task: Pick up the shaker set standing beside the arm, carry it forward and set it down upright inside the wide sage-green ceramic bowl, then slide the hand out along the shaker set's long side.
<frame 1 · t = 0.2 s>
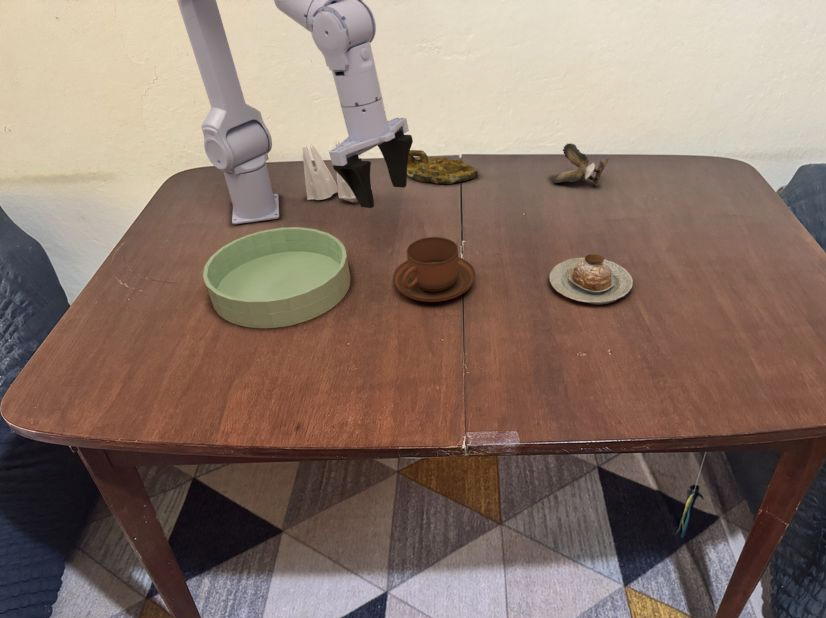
hand: (384, 196, 94), 11 cm above the table, tool pointing down, fingers open, 7 cm apart
cup and saucer: (434, 287, 95), on the table
eagle figurine: (577, 183, 121), on the table
seal: (440, 175, 125), on the table
shaker set: (340, 199, 118), on the table
pastry: (589, 286, 94), on the table
bowl: (282, 287, 95), on the table
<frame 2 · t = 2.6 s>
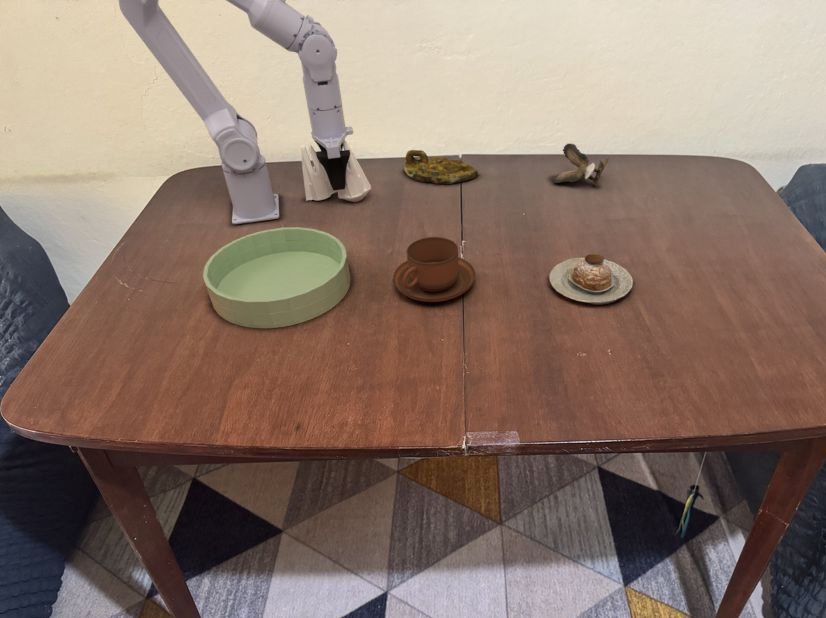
hand: (337, 181, 115), 3 cm above the table, tool pointing down, fingers closed on shaker set, 6 cm apart
shaker set: (339, 199, 118), on the table, touching gripper
everything else where it was.
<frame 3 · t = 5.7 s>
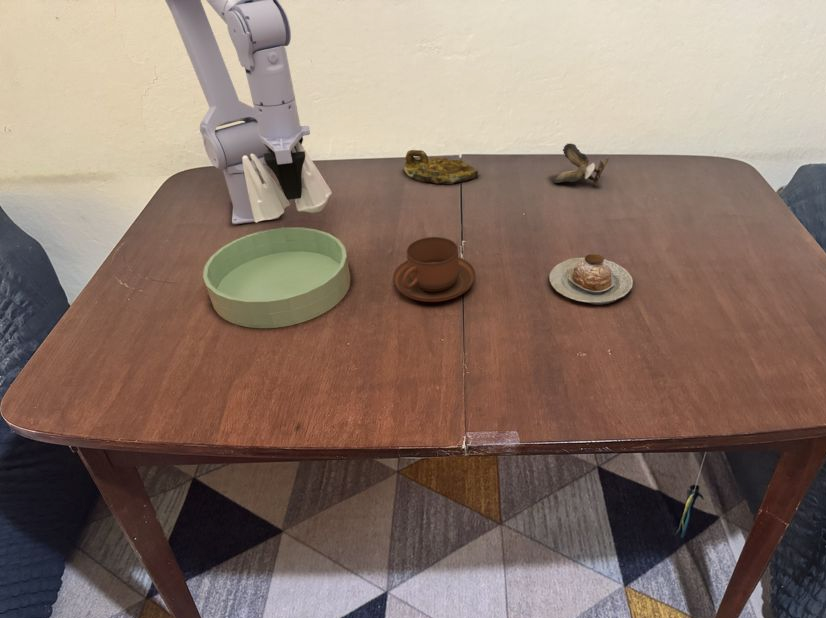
hand: (293, 191, 97), 10 cm above the table, tool pointing down, fingers closed on shaker set, 4 cm apart
shaker set: (295, 213, 99), point 7 cm above the table, touching gripper
everything else where it was.
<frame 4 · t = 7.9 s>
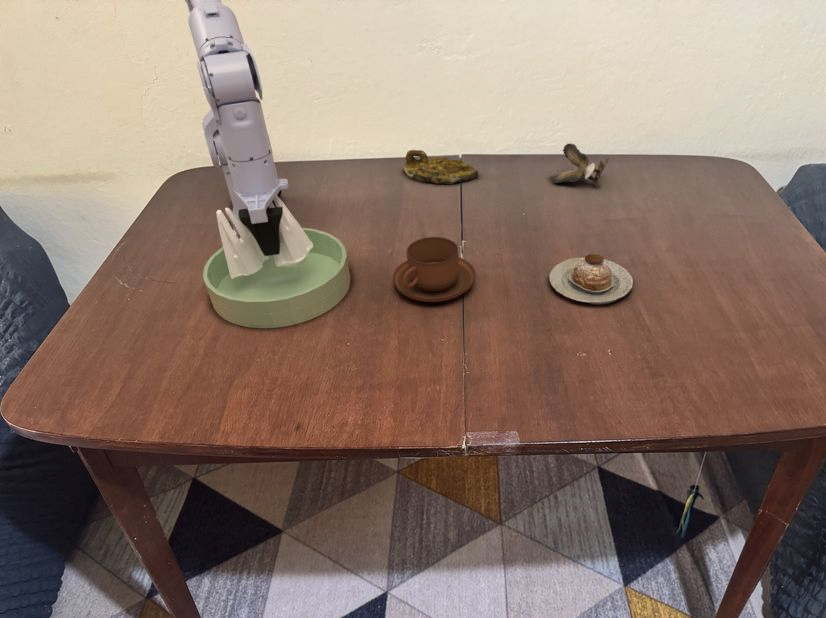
hand: (271, 245, 91), 7 cm above the table, tool pointing down, fingers closed on shaker set, 4 cm apart
shaker set: (274, 268, 93), point 3 cm above the table, touching gripper
everything else where it was.
when the fingers open (4 cm above the table, at t = 9.2 s): shaker set stays where it is, resting on bowl.
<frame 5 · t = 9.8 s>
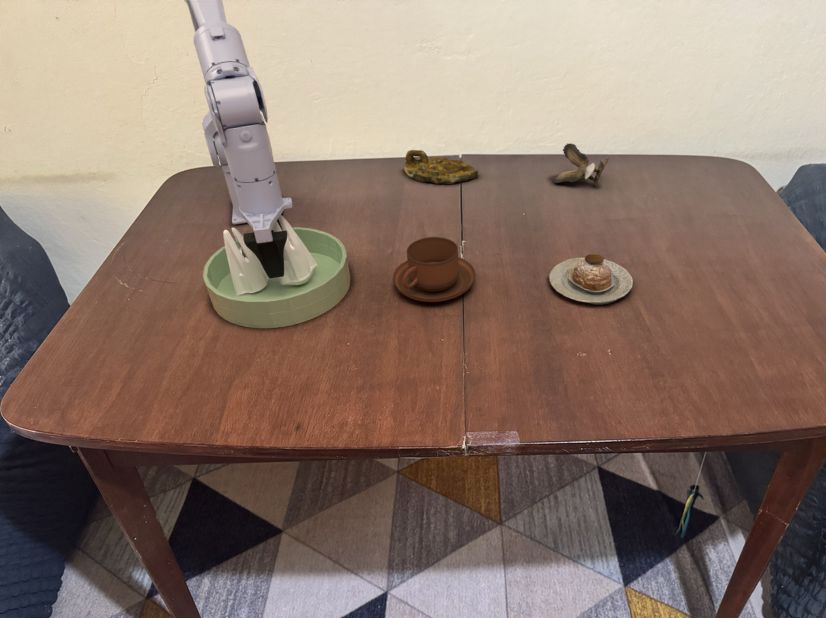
hand: (276, 262, 93), 4 cm above the table, tool pointing down, fingers open, 7 cm apart
shaker set: (278, 285, 95), resting on bowl
everything else where it was.
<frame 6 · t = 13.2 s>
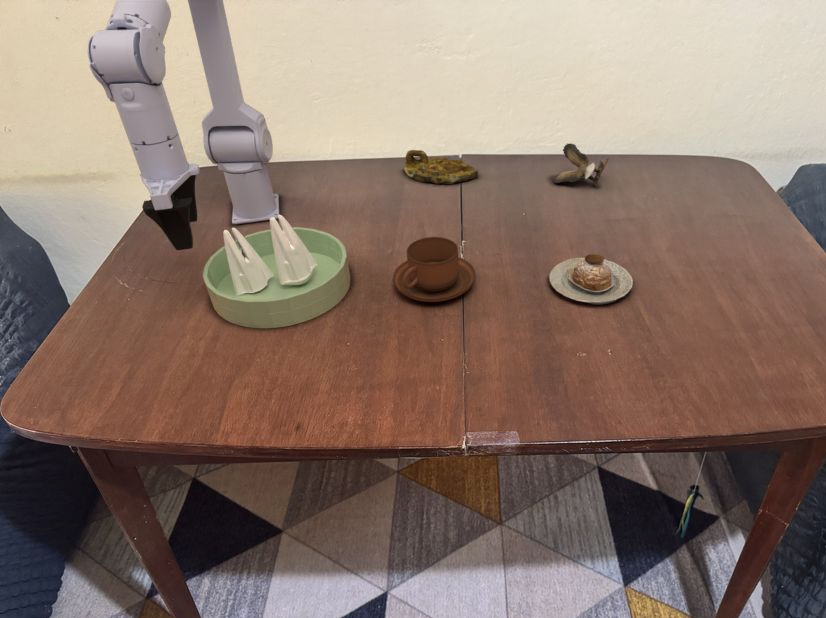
hand: (187, 234, 87), 10 cm above the table, tool pointing down, fingers open, 7 cm apart
nothing on the table moved.
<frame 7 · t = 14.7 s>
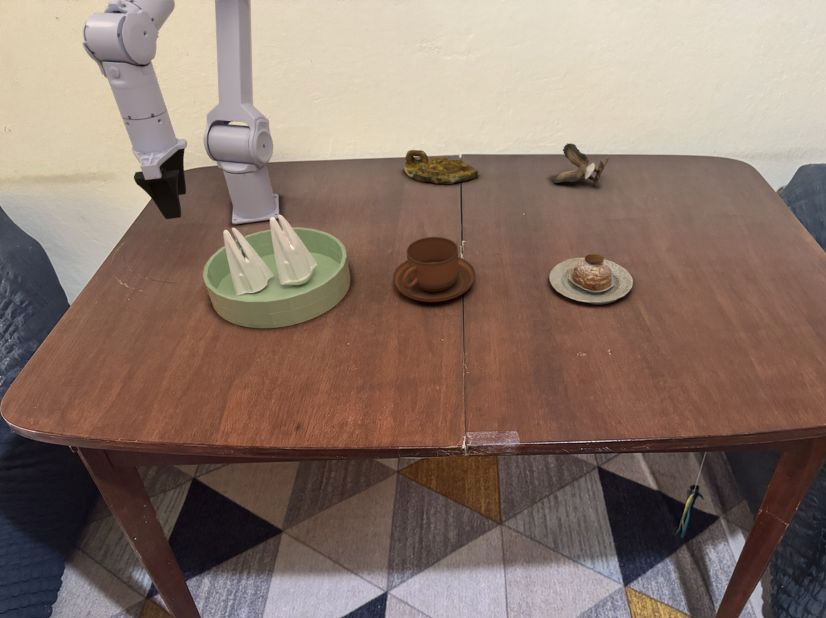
hand: (176, 205, 94), 10 cm above the table, tool pointing down, fingers open, 7 cm apart
nothing on the table moved.
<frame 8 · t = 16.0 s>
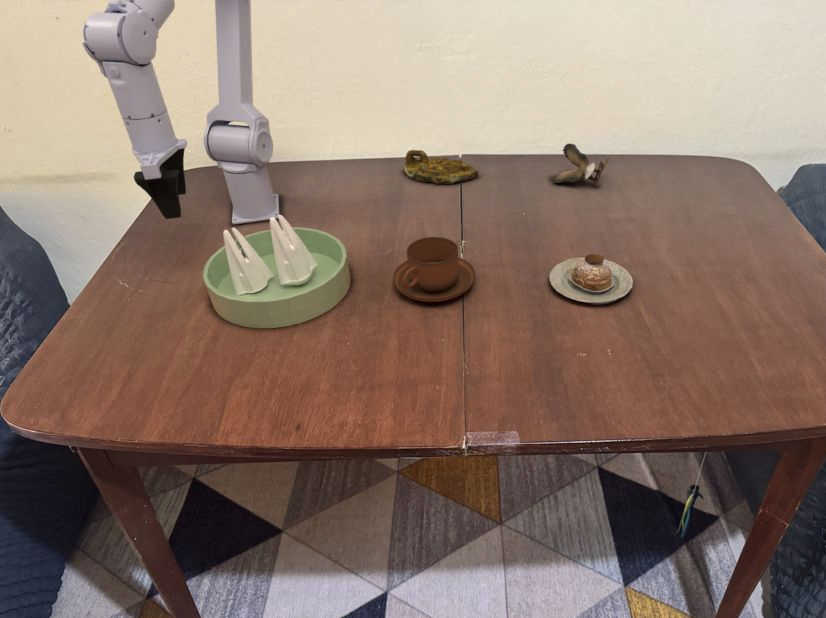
hand: (176, 205, 94), 10 cm above the table, tool pointing down, fingers open, 7 cm apart
nothing on the table moved.
at the end: shaker set inside the target area in the bowl (0.5 cm from its centre), point 0.3 cm above the bowl's base; shaker set tilted 0° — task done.
